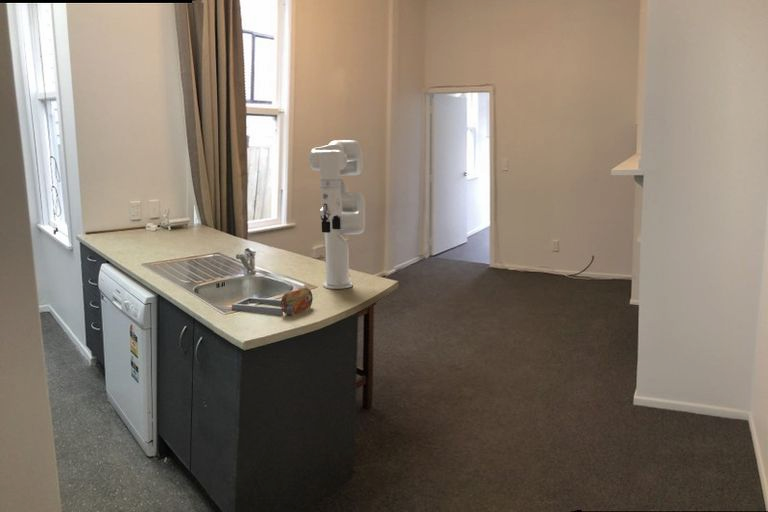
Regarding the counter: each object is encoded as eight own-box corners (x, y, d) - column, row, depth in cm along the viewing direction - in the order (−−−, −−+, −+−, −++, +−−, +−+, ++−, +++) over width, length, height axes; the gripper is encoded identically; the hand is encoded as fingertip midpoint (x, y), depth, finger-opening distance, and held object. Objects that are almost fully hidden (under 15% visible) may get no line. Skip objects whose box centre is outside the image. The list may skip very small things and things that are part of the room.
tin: (286, 317, 206) (285, 294, 204) (279, 316, 207) (279, 293, 206) (313, 308, 218) (313, 286, 217) (307, 307, 220) (306, 285, 218)
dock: (248, 303, 225) (248, 297, 225) (295, 307, 219) (295, 301, 218) (232, 311, 214) (231, 304, 214) (281, 315, 208) (281, 308, 208)
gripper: (330, 186, 206) (331, 234, 209) (348, 183, 222) (349, 228, 225) (311, 185, 208) (312, 233, 211) (330, 183, 225) (331, 227, 228)
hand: (331, 230), depth 218 cm, fingers open, 9 cm apart
